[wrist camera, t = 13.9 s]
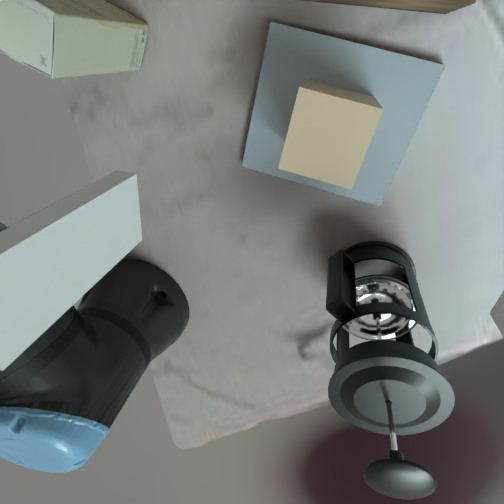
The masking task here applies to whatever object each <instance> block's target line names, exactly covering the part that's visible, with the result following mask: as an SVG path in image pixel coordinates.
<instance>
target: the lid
mask: <svg viewBox="0 0 504 504" xmlns="http://www.w3.org/2000/svg"><path fill="white" fill-rule="evenodd" d="M445 66H446V65H443V64H439V63H435V62H431V61H427V60H423V59H419V58H415V57H411V56H407V55H403V54H399V53H395V52H391V51H387V50H383V49H379V48H375V47H371V46H367V45H363V44H359V43H355V42H351V41H347V40H343V39H339V38H335V37H331V36H327V35H323V34H319V33H315V32H311V31H306V30H302V29H298V28H294V27H290V26H286V25H282V24H278V23H274V22H270V26H269V31H268V37H267V42H266V47H265V52H264V57H263V62H262V67H261V72H260V77H259V82H258V87H257V92H256V97H255V102H254V107H253V112H252V117H251V122H250V127H249V132H248V137H247V142H246V147H245V152H244V158H243V163H242V167H245V168H249V169H252V170H256V171H259V172H262V173H266V174H269V175H273V176H276V177H280V178H283V179H287V180H290V181H294V182H297V183H301V184H304V185H307V186H311V187H314V188H318V189H321V190H325V191H328V192H332V193H335V194H339V195H342V196H345V197H349V198H352V199H356V200H359V201H363V202H366V203H370V204H373V205H377V206H381V204H382V201H383V199H384V197H385V195H386V193H387V191H388V189H389V186H390V184H391V182H392V180H393V178H394V176H395V173H396V171H397V169H398V167H399V165H400V163H401V161H402V158H403V156H404V154H405V152H406V150H407V148H408V145H409V143H410V141H411V139H412V137H413V135H414V133H415V130H416V128H417V126H418V124H419V122H420V120H421V118H422V115H423V113H424V111H425V109H426V107H427V105H428V102H429V100H430V98H431V96H432V94H433V92H434V90H435V87H436V85H437V83H438V81H439V79H440V77H441V74H442V72H443V70H444V68H445Z"/></svg>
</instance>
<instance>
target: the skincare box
mask: <svg viewBox="0 0 504 504" xmlns="http://www.w3.org/2000/svg"><path fill="white" fill-rule="evenodd" d="M148 27H149V26H148V24H147V23H145V22H143V21H141V20H139V19H138V18H136V17H134V16H133V15H131V14H129V13H127V12H125V11H124V10H122V9H120V8H118V7H116V6H114V5H112V4H111V3H109V2H107V1H105V0H0V52H1V53H3V54H5V55H6V56H8V57H10V58H12V59H14V60H16V61H18V62H20V63H22V64H24V65H26V66H28V67H30V68H32V69H34V70H36V71H38V72H40V73H42V74H44V75H46V76H47V77H49V78H62V77H72V76H83V75H93V74H104V73H115V72H125V71H135V70H140V67H141V63H142V58H143V53H144V49H145V43H146V38H147V33H148Z"/></svg>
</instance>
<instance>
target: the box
mask: <svg viewBox="0 0 504 504" xmlns="http://www.w3.org/2000/svg"><path fill="white" fill-rule="evenodd" d="M304 1H315V2H325V3H336V4H346V5H357V6H367V7H378V8H388V9H399V10H409V11H420V12H430V13H441V14H447V13H449V12H452V11H455V10H457V9H460V8H463V7H465V6H468V5H471V4H473V3H475V2H476V0H304Z"/></svg>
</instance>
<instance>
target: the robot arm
mask: <svg viewBox="0 0 504 504" xmlns="http://www.w3.org/2000/svg"><path fill="white" fill-rule="evenodd" d="M141 241H142V232H141V220H140V209H139V198H138V186H137V175H136V174H134V173H128V172H123V171H115V172H113V173H111V174H109V175H107V176H105V177H104V178H102V179H100V180H98V181H96V182H94V183H92V184H90V185H88V186H86V187H85V188H83V189H81V190H79V191H77V192H75V193H73V194H71V195H69V196H67V197H65V198H64V199H62V200H60V201H58V202H56V203H54V204H52V205H50V206H49V207H46V208H44V209H42V210H41V211H39V212H37V213H35V214H33V215H31V216H29V217H27V218H26V219H23V220H22V221H20V222H18V223H16V224H14V225H12V226H10V227H6V226H5V225H4V224H2V223H1V222H0V457H1V458H3V459H5V460H8V461H10V462H12V463H15V464H18V465H21V466H25V467H28V468H31V469H35V470H40V471H45V472H57V473H59V472H68V471H72V470H75V469H77V468H79V467H81V466H82V465H83V464H84V463H85V462H86V461H87V460H88V459H89V458H90V456H91V455H92V454H93V452H94V451H95V449H96V448H97V447H98V445H99V444H100V442H101V441H102V440H103V438H104V437H105V436H107V434H108V433H109V428H110V427H111V425H112V424H113V422H114V420H115V418H116V417H117V415H118V413H119V412H120V410H121V409H122V407H123V406H124V404H125V402H126V401H127V399H128V397H129V396H130V394H131V392H132V391H133V389H134V388H135V386H136V384H137V382H138V381H139V379H140V378H141V376H142V374H143V373H144V371H145V369H146V368H147V366H148V365H149V363H150V362H151V361H152V360H153V359H154V358H155V357H157V356H158V355H159V354H161V353H162V352H163V351H164V350H165V349H167V348H168V347H169V346H170V345H171V344H173V343H174V342H175V341H176V340H177V339H178V338H179V337H180V335H181V334H182V332H183V330H184V329H185V327H186V325H187V323H188V320H189V306H188V303H187V300H186V297H185V295H184V293H183V292H182V290H181V289H180V287H179V286H178V285H177V284H176V282H175V281H174V280H173V279H172V278H171V277H169V276H168V275H167V274H166V273H164V272H163V271H161V270H160V269H158V268H157V267H155V266H153V265H150V264H148V263H145V262H142V261H139V260H133V259H123V258H124V257H125V256H126V255H127V254H128V253H129V252H130V251H131V250H132V249H133V248H134V247H135V246H136V245H137V244H138V243H140V242H141ZM83 295H84V296H83ZM82 296H83V298H82V300H81V302H80V304H79V306H78V309H77V310H76V309H75V307H74V306H73V305H74V304H75V303H76V302H77V301H78V300H79V299H80V298H81V297H82ZM490 315H491V316H492V318H493V320H494V322H495V323H496V325H497V327H498V329H499V330H500V332H501V334H502V336H503V337H504V291H503V293H502V294H501V296H500V297H499V299H498V301H497V302H496V304H495V305H494V307H493V309H492V310H491V312H490Z"/></svg>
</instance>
